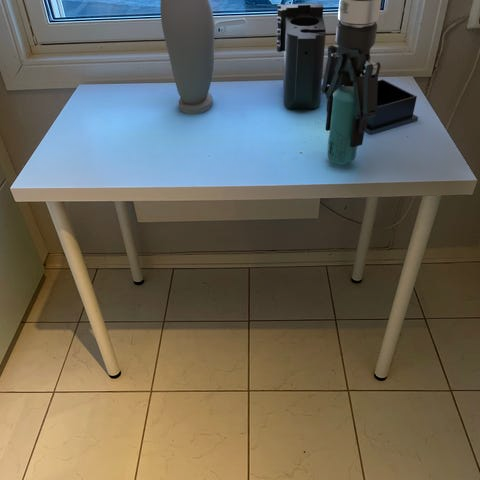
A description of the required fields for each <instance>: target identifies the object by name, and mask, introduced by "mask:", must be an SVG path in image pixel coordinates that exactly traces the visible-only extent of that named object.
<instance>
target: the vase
mask: <svg viewBox="0 0 480 480" xmlns="http://www.w3.org/2000/svg"><path fill="white" fill-rule="evenodd" d="M159 7H160V8H159V9H160V11H159V12H160V20H161V21H160V22H161V28H162V33H163V38H164V41H165V42H164V43H165V46H166V50H167V53H168V57H169V61H170V67H171V71H172V74H173V78H174V82H175V87H176V90H177V93H178V95H179V97H180V98H179V99H178V109H179V111H180V112H182V113H183V114H187V115H197V114H198V115H199V114H203V113H205V112H207V111H209V110H210V109H211V108H212V107H213V105H214V101H213V100H214V99H213V96H212V94H211V93H209V91H210V88H211V84H212V78H213V75H214V69H215V68H214V67H215V20H214V14H213V9H212V6H211V3H210V0H160V6H159Z"/></svg>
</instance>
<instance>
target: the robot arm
mask: <svg viewBox="0 0 480 480" xmlns="http://www.w3.org/2000/svg"><path fill="white" fill-rule="evenodd" d="M381 4H382V0H339V3H338V11H337V13H338V14H337V19H338V20H339V21H338V22H337V23H336V28H335V29H336V31H335V40H334V41H335V44H331V45H328V47H327V61H326V65H325V70H324V73H323V78H322V87H321V94H325V98H326V119H325V120H326V121H325V131H327V132H330V130H329V129H330V124H331V120H330V119H331V117H330V116H331V114H332V105H333V93H334V92H335V91H336V90H337V89H338V88H340V87H341V86H343V85H341V84H340V83H339V80H340V76H341V72H342V71H344V72H346V73H348V74H350V80H351V82H352V83H353V87H354V95H355V103H356V111H357V116H354V119H353V127H352V134H351V142H350V147H352V148H353V147H356V146H358V147H359V146H362V145H363V142H364V136H365V133H366V132H365V131H366V127H367V120H368V118H369V117H372V116H376V114H377V91H378V80H379V75H380V70H381V66H382V65H381V63H380V62H379V61H377V62H374V61H373V60H372V59H371V50H372V47H373V46H374V45H375V43H376V40H377V39H376V38H377V31H378V24H377V22H378V21H379V19H380V13H381ZM357 75H360V76H359V77H356V76H357ZM362 110H363V111H362Z"/></svg>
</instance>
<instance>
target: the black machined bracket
mask: <svg viewBox="0 0 480 480" xmlns="http://www.w3.org/2000/svg"><path fill="white" fill-rule="evenodd" d="M276 26H277V28H276V52H277V53H282V52H283V79H282V80H283V81H282V82H283V83H282V85H283V86H282V94H283V105H284V107H285V108H286V109H288V110H315V109H317V108H319V106H321V98H322V97H321V95H322V91H321V89H322V84H323V74H324V73H323V71H324V59H325V47H326V37H327V36H326V35H327V32H326V29H327V28H326V24H325V20H324V4H322V3H293V4H291V3H290V4H281V3H280V4H277V19H276Z"/></svg>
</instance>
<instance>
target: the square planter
mask: <svg viewBox="0 0 480 480" xmlns="http://www.w3.org/2000/svg"><path fill="white" fill-rule="evenodd" d="M417 97H418V96H417V95H415V94H413V93H411V92H409V91H407V90H406V89H403V88H401V87H399V86H397V85H395V84H392V83H391V82H389V81H387V80H385V79H382V78H381V79H378V91H377V114H376V116H372V117H369V118H368V120H367V127H366V131H365V132H364V133H366V134H368V135H370V136H371V135H375V134H377V133H378V134H379V133H381V132H385V131H388V130H391V129H395V128H397V127H402V126H404V125H408V124H411V123H415V122H417V121H418V120H419V116H417V115H416V114H414V113H415V107H416V103H417ZM362 111H363V110H362Z"/></svg>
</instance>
